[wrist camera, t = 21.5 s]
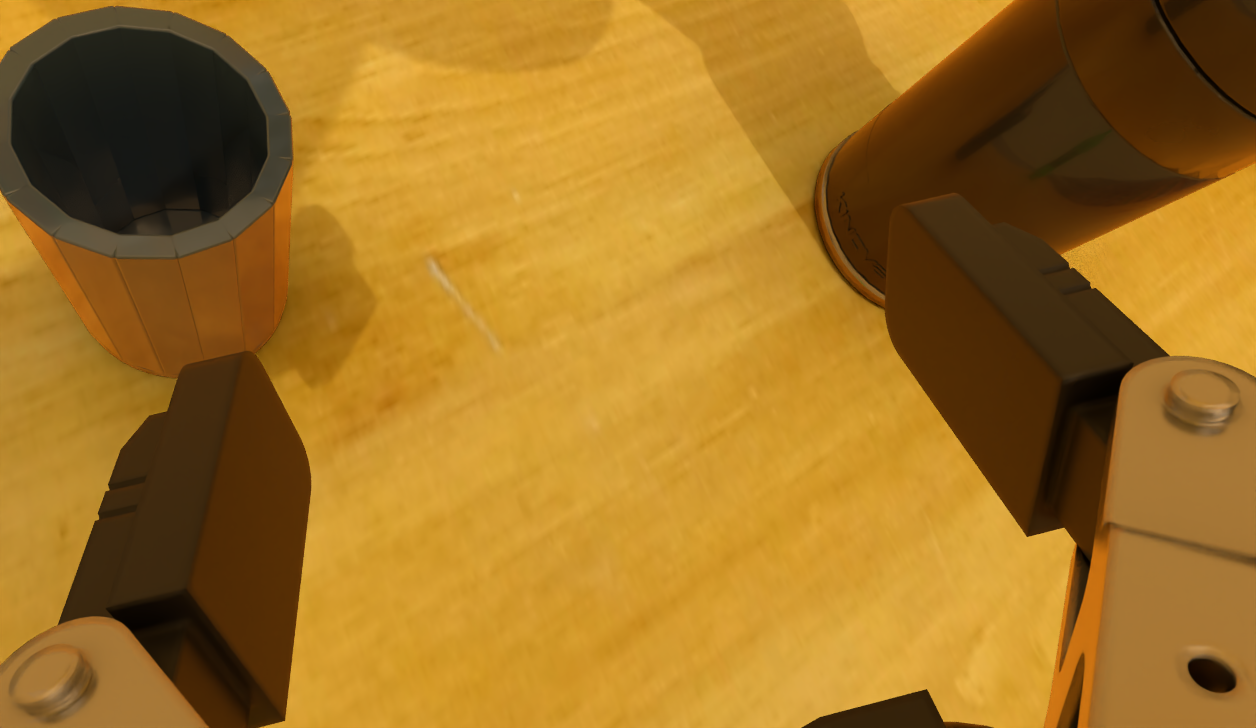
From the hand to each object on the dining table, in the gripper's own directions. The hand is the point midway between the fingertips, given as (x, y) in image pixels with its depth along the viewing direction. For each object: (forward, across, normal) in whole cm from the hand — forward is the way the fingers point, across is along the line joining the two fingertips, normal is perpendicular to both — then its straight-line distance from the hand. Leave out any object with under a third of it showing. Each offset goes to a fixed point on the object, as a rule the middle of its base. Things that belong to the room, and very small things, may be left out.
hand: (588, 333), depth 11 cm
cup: (+19, +12, +8) cm, 24 cm away
